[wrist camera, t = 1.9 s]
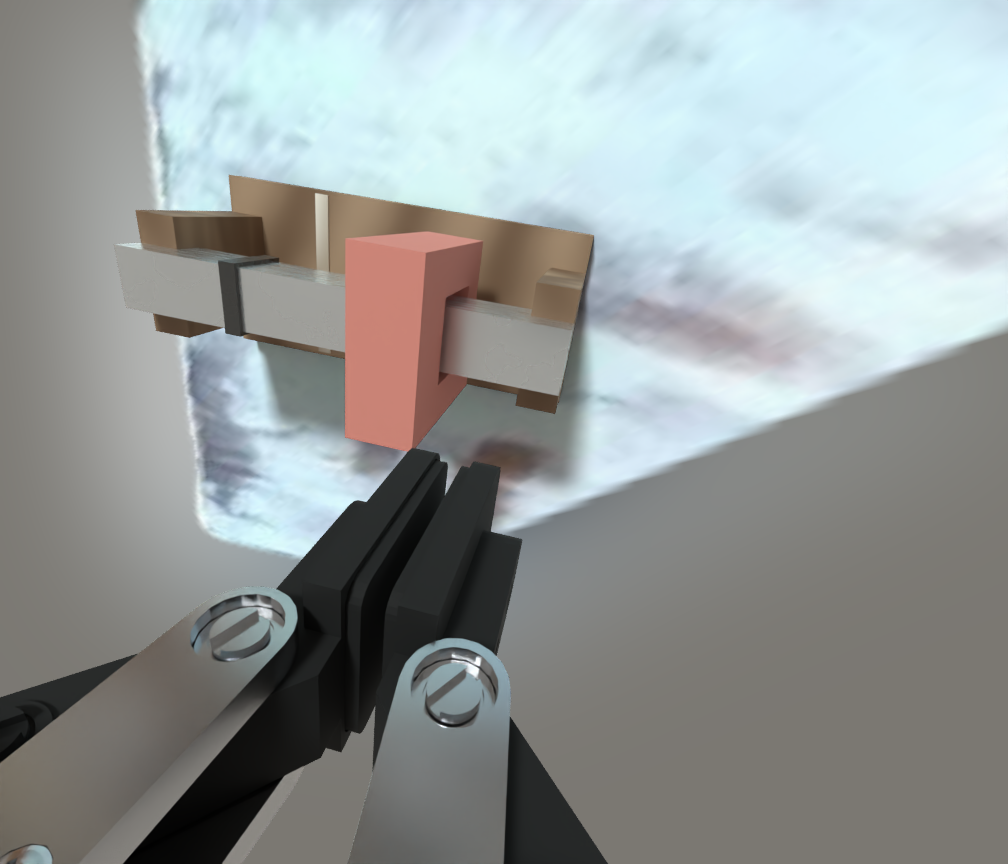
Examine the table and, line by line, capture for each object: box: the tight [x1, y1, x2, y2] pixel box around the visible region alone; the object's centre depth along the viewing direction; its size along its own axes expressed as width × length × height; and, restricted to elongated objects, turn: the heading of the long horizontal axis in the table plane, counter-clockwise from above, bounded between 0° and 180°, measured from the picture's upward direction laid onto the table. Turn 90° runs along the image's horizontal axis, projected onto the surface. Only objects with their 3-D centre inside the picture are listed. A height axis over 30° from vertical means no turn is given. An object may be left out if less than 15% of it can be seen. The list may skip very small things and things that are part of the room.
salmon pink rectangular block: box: [345, 231, 483, 451], centre depth 23 cm, size 3×8×9 cm, turn 171°
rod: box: [114, 243, 575, 396], centre depth 24 cm, size 22×3×3 cm, turn 81°
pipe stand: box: [136, 175, 594, 414], centre depth 27 cm, size 22×10×8 cm, turn 81°
